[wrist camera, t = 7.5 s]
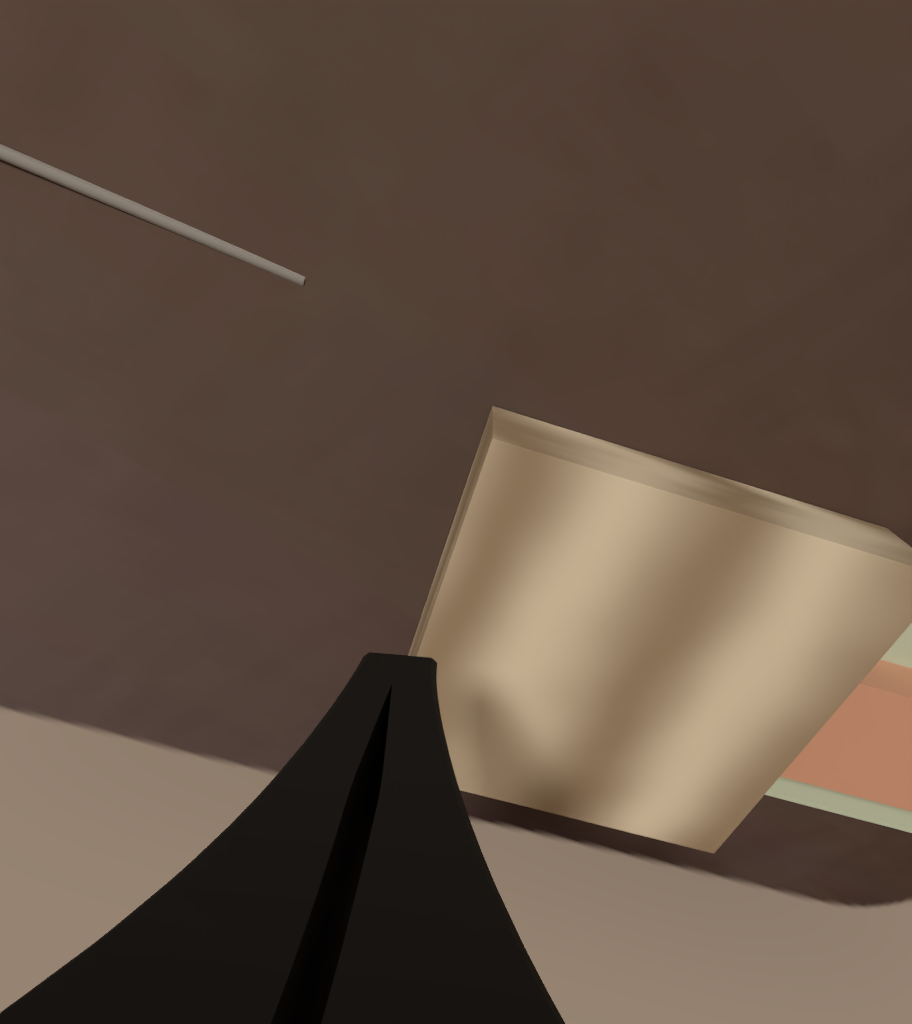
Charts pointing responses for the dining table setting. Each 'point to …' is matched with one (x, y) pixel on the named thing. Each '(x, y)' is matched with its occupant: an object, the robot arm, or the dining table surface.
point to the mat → (903, 652)
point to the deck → (645, 631)
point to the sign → (142, 212)
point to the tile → (865, 742)
